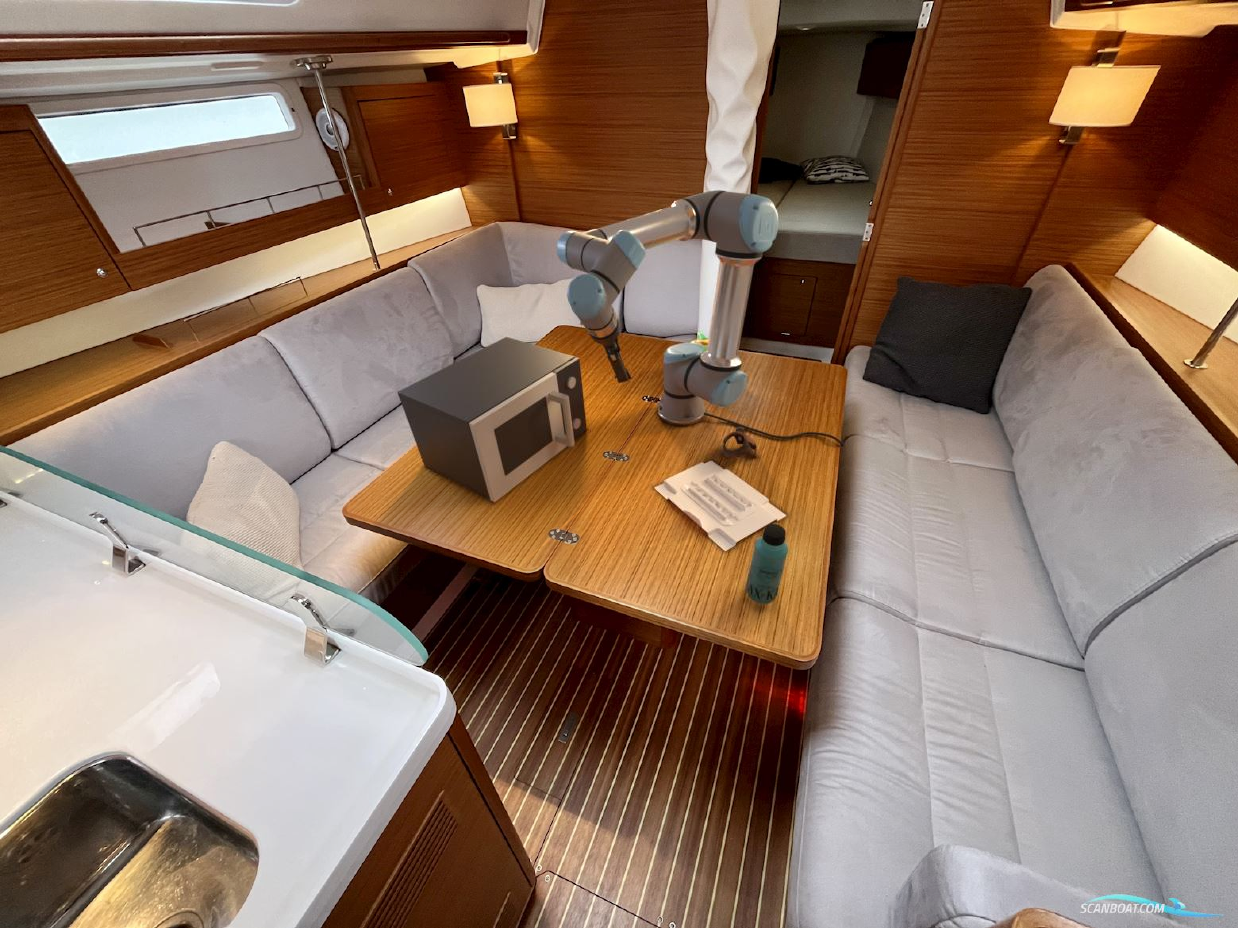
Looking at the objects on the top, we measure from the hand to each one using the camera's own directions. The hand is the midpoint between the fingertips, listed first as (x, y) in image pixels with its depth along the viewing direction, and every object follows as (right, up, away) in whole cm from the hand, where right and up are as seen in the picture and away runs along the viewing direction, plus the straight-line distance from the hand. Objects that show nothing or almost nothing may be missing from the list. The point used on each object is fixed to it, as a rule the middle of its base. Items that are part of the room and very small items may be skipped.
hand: (620, 355), depth 132 cm
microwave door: (-23, -32, +8) cm, 40 cm away
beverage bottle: (+30, -57, -28) cm, 70 cm away
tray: (+25, -39, -4) cm, 46 cm away
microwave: (-34, -24, +19) cm, 46 cm away
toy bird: (+32, +3, +49) cm, 59 cm away
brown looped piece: (+35, -26, +12) cm, 45 cm away
